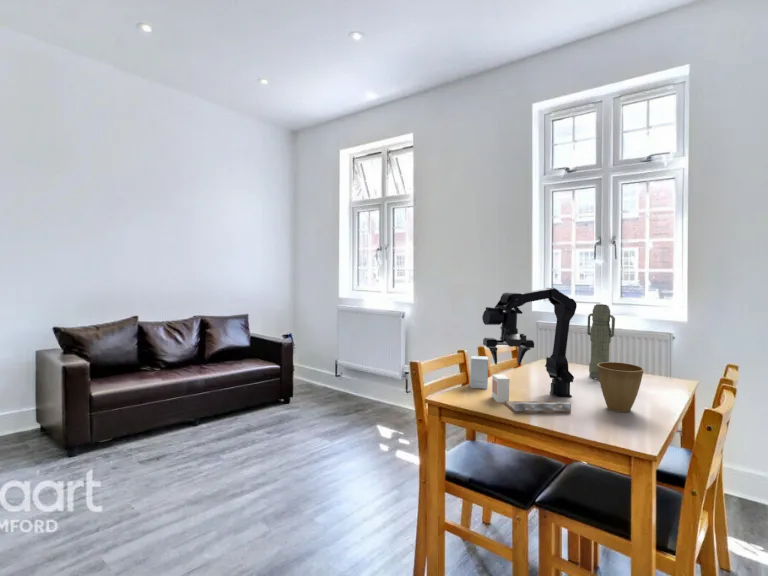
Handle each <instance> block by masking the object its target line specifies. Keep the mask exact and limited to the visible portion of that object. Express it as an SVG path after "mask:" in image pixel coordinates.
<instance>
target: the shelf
mask: <svg viewBox="0 0 768 576" xmlns="http://www.w3.org/2000/svg"><path fill="white" fill-rule="evenodd" d="M503 403H504V404H505V405H506V406H507V407H508V408H509V409H510V408H511V409H512V410H511V409H510V410H511V411H512V412H514V413H515V414H571V413H572V404H571V403H570V402H558V401H557V400H509V401H504V402H503Z"/></svg>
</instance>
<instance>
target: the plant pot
mask: <svg viewBox="0 0 768 576" xmlns="http://www.w3.org/2000/svg"><path fill="white" fill-rule="evenodd" d="M598 373H599V379H598V380H599V383H600V388H601V393H602V395H603V398H604V402H605V404H606V407H607V409H608V410H610V411H613V412H617V411H619V412H618V413H629V412H631V410H632V408H633V406H634V403H635V401H636V399H637V396H638V394H639V390H640V387H641V384H642V379H643V375H644V367H641V366H639V365H636V364H632V363H628V362H627V363H625V362H618V361H617V362H616V361H610V362H603V363H599V364H598ZM628 411H629V412H628Z"/></svg>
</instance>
